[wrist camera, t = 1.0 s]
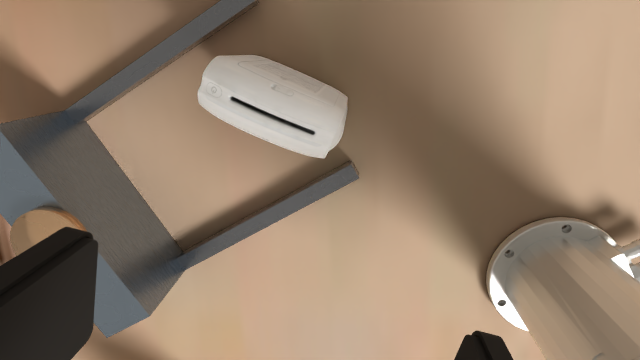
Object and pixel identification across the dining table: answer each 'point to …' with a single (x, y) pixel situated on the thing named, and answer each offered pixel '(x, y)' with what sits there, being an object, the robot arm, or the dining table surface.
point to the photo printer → (274, 103)
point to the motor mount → (120, 189)
